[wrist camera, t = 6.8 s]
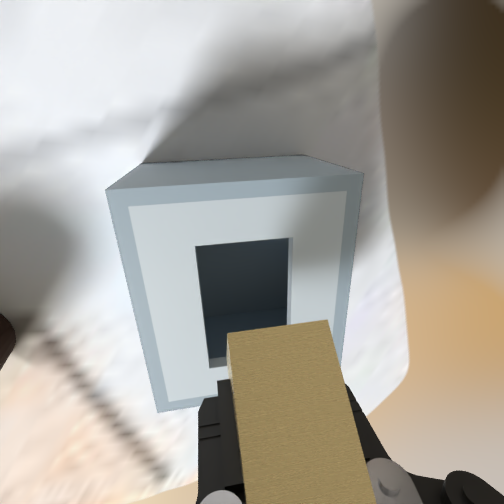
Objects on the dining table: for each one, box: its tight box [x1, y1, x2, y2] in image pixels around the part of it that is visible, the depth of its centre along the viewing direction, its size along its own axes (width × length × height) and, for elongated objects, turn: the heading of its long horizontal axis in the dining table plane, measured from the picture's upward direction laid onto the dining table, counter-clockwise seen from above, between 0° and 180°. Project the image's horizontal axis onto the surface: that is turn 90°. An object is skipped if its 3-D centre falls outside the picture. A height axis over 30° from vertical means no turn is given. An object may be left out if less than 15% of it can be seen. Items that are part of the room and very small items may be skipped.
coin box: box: [105, 155, 364, 413], centre depth 21 cm, size 14×12×9 cm
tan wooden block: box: [227, 319, 377, 504], centre depth 10 cm, size 6×3×5 cm
